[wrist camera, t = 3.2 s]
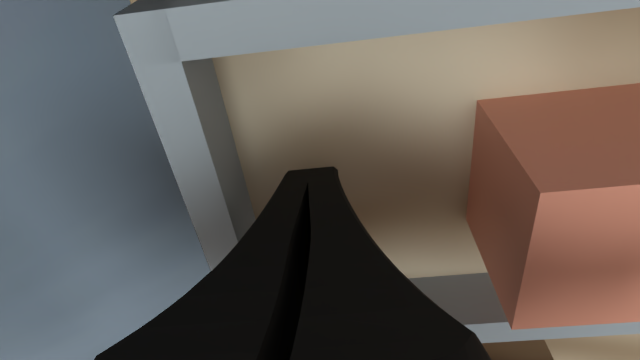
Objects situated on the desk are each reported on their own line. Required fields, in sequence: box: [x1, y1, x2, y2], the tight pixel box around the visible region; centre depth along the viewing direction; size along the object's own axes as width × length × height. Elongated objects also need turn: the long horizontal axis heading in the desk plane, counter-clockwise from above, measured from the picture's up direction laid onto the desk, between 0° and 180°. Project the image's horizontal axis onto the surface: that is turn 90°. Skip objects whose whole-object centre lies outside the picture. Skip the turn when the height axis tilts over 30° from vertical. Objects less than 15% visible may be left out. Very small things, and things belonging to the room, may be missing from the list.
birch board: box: [130, 0, 640, 360], centre depth 14 cm, size 17×26×1 cm, turn 97°
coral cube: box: [466, 83, 640, 330], centre depth 10 cm, size 4×4×4 cm
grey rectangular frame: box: [113, 0, 640, 343], centre depth 11 cm, size 11×14×2 cm
